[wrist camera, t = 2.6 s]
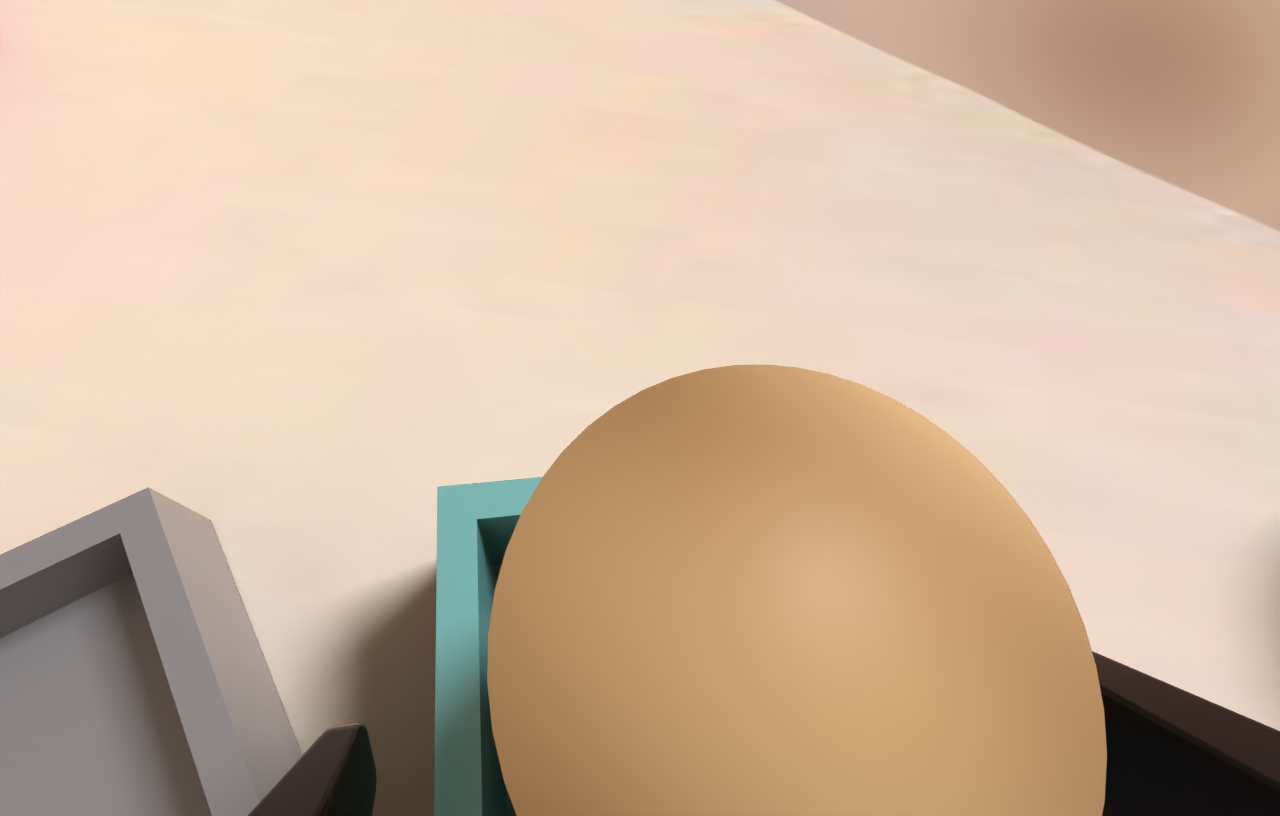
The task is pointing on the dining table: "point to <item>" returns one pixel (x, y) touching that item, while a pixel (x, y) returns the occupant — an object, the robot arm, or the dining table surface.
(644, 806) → the dowel pin
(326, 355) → the dining table surface
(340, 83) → the dining table surface
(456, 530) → the teal open box
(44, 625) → the charcoal tray
